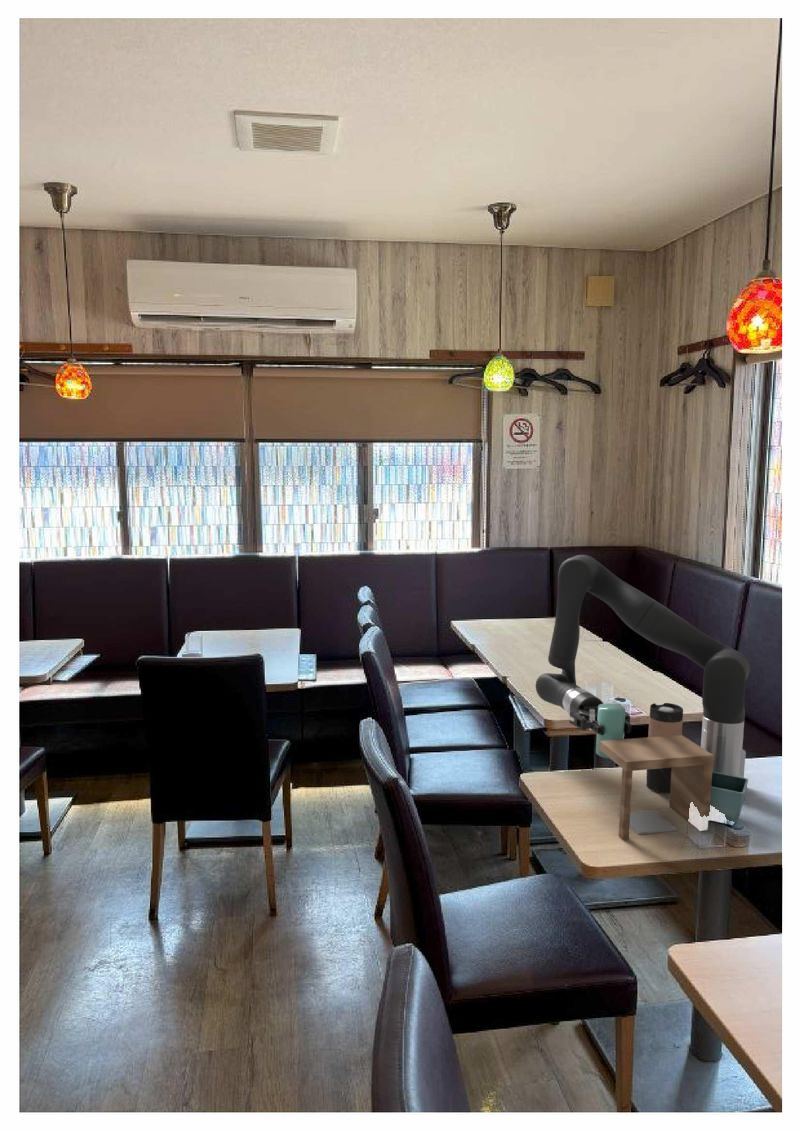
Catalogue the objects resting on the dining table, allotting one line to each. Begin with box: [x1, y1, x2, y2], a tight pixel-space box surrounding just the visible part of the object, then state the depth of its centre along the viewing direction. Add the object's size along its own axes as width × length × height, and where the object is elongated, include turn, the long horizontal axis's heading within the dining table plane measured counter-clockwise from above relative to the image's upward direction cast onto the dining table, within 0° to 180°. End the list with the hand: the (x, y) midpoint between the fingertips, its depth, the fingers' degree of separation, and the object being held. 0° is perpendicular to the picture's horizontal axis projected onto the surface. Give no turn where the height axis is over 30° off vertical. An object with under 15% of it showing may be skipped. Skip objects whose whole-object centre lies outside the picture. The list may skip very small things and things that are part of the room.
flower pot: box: [710, 772, 749, 823], centre depth 173 cm, size 9×9×9 cm
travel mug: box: [645, 702, 684, 794], centre depth 188 cm, size 8×8×20 cm
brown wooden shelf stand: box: [599, 734, 713, 841], centre depth 171 cm, size 20×12×17 cm, turn 102°
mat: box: [617, 809, 678, 835], centre depth 172 cm, size 9×9×1 cm
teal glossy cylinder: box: [595, 702, 626, 760], centre depth 180 cm, size 6×6×11 cm
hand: (616, 730), depth 178 cm, fingers closed on teal glossy cylinder, 6 cm apart
